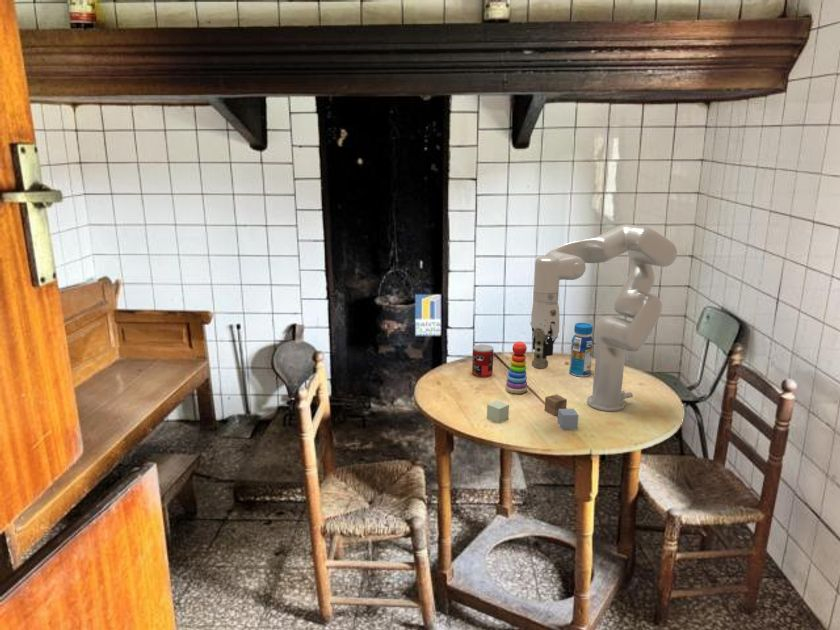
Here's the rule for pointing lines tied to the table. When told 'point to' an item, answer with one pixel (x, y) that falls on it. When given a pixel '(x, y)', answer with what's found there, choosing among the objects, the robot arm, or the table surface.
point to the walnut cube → (554, 404)
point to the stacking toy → (517, 370)
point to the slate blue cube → (567, 418)
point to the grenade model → (539, 350)
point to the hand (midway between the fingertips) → (542, 351)
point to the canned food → (482, 360)
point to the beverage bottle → (581, 350)
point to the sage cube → (497, 411)
